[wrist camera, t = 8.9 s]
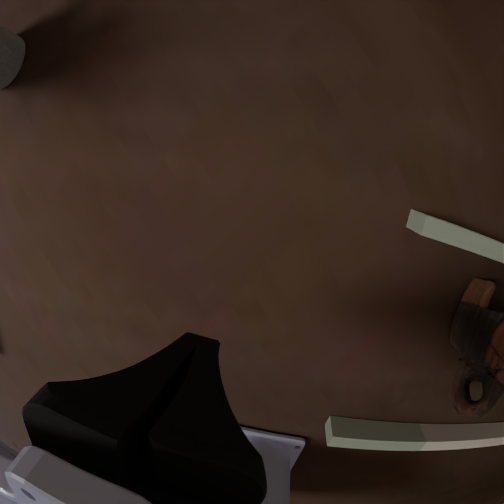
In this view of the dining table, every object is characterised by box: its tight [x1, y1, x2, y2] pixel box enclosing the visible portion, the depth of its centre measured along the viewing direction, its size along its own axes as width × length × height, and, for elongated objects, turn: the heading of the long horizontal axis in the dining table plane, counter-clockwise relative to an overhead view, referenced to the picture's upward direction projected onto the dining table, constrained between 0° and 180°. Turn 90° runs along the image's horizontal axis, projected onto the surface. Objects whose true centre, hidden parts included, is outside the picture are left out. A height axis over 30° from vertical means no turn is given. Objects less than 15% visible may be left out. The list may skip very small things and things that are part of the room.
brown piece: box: [450, 278, 504, 418], centre depth 18 cm, size 12×10×8 cm
